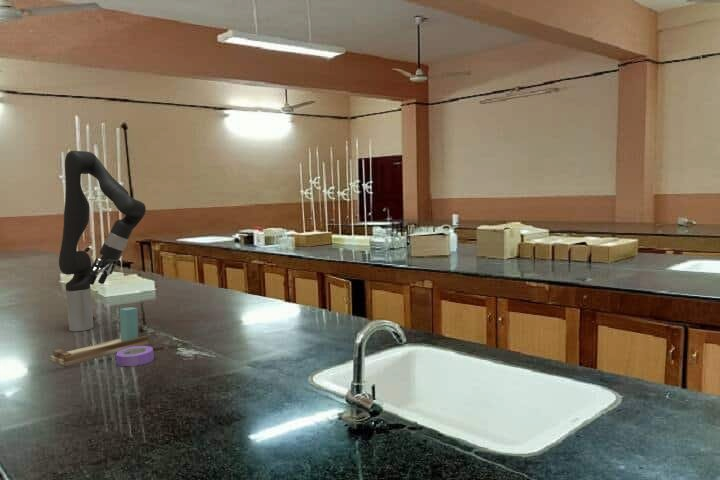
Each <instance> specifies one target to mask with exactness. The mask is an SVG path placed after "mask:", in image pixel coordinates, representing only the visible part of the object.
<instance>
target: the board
mask: <svg viewBox="0 0 720 480" xmlns="http://www.w3.org/2000/svg"><path fill="white" fill-rule="evenodd" d="M145 344H146V345H149V336H148V335H143V336H140V337H139V336H138V338H134V339H131V340H127V341H122V340H121V337H120V338H115V339H112V340H108V341H104V342H100V343H96V344H93V345H92V344H91V345H89V346H88V345H87V346H85V347H81V348H76V349H72V350H69V351H65V350H63V349H59V348H58V349H55V350H52V355H49V357H50V358H49V359H50V362H51V361H52V362H54V363H57V364H60V365H62V366H65V367H69V366H72V365H76V364H80V363H85V362H87V361H92V360H95V359H98V358H101V357H102V358H103V357H105V356H109V354H110V355H113V354H116V352H118V351H120V350H122V349H125V348H129V347H135V346H146V345H145Z"/></svg>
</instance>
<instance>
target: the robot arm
mask: <svg viewBox="0 0 720 480" xmlns="http://www.w3.org/2000/svg"><path fill="white" fill-rule="evenodd" d="M82 175H90V176H93V177H94V178H95V179H96V180H97V181H98V184H99V188H100V191H101V192H102V194H103V195H105V196H106V198H108V199H109V200H110V201H111V202H112V203H113V204H114V207H116V209H117V210H118V211H119V212H120V213H122V215H125V216H124V217H123V218H122V219H117V220H116V221H115V222H114V223H113V225H112V228H111V229H110V232H109V233H108V235H107V236H106V238H105V240H104V243H103V244H102V246H101V248H100V250H99V255H101V257H100V258H99V257H96V258H95V259H94V261H93V264H92V260H91V257H90V255H89V253H88V252H86V251H85V250H77V249H78V245H79V241H80V238H81V237H82V235H83V233H84V232H85V230H86V228H87V226H88V225H89V222H90V210H91V209H90V203H89V200H88V198H87V197H86V195H85V193H84V191H83V189H82V184H81V182H82V181H81V180H82V179H81V178H82ZM64 176H65V177H64V178H65V180H64V181H65V194H64V196H65V200H64V210H63V228H62V229H63V230H62V240H61V246H60V252H59V257H58V266H59V270H60V272H61V273H62V274H63V275H67V276H68V275H69V276H71V275H73V276H72V278H71V279H70V280H69V281H68V282H66V284H65V294H66V295H65V297H66V309H67V318H68V320H67V321H68V330H69V332H83V331H88V330H92V329H93V328H94V317H93V316H94V315H93V307H92V306H93V305H92V304H93V303H92V292H91V285H94V284H95V282H96V280H97V278H98V276H99V275H100V276H99V279H98V281H97V283H98V284H100V285H104V284H105V282H106V281H107V278H108V277H109V276H110V275H112V274H113V272H114V270H115V268H116V266H117V264H118V261H119V260H120V258H121V256H122V254H123V252H124V250H125V247H126V246H127V243H128V240H129V238H130V237H131V235H132V232H133V230H134V228H136V227H137V226H138V224H139V223H140V222H141V220H142V219H144V217H145V214H146V209H147V208H146V205H145V203H144V202H142V201H140V200H137V199H135V198H133V197H131V196H130V194H129V191H128V190H127V189H126V188H125V187H124V186H123V185H121V184H120V183H119V182H118V181H117V180H116V179H115V178H114V177H113V176H112V175H111V173H110V172H109V171H108V170H107V168H106V167H105V166H104V164H103V163H102V162H101V160H100V159H99V158H98V157H97V156H96V154H94V153H93V152H91V151H84V150H83V151H82V150H70V151H68V153H66V156H65V160H64ZM100 273H101V274H100Z"/></svg>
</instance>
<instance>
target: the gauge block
mask: <svg viewBox="0 0 720 480" xmlns="http://www.w3.org/2000/svg"><path fill="white" fill-rule="evenodd" d="M138 310H139V309H138V307H132V306H130V307H124V308H119V319H120V320H119V324H120V325H119V326H120V328H119V329H120V330H119V331H120V338H121V340H122V341H127V340H131V339H134V338H138V337H139V318H138Z"/></svg>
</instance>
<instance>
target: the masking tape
mask: <svg viewBox="0 0 720 480" xmlns="http://www.w3.org/2000/svg"><path fill="white" fill-rule="evenodd" d="M115 354H116V355H115V358H116V365H117V364H118V365H119V367H122V366H133V367H138V366H137V365H139V366H143V364H144V365H147V364H149V363H151V362H153V361H154V360H155V354H154V348H153V347H152V346H149V345H142V346H135V347H129V348H125V349H122V350H120V351H118V352H117V353H115ZM118 365H117V366H118Z"/></svg>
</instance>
